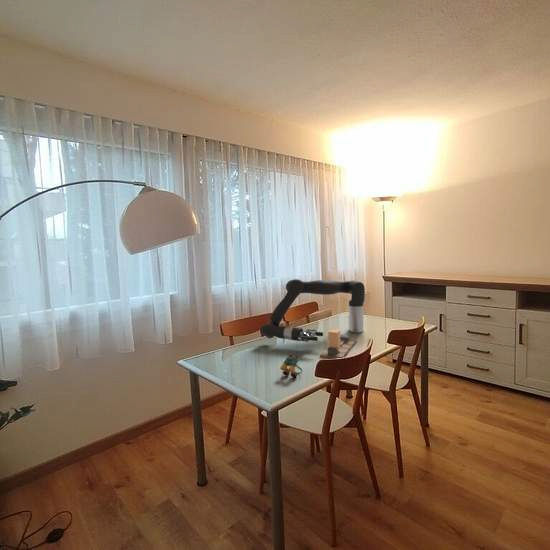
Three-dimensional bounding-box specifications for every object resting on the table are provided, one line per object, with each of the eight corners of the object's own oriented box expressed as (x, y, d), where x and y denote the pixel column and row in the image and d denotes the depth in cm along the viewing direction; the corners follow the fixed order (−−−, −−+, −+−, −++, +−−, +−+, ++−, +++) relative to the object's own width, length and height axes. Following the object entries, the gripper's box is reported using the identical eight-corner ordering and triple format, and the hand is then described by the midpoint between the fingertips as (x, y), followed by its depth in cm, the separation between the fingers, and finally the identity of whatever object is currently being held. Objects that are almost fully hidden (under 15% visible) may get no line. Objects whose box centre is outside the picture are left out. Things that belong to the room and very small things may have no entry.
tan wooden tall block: (331, 346, 178) (331, 329, 177) (340, 348, 176) (340, 330, 175) (328, 349, 174) (328, 331, 173) (337, 351, 171) (337, 332, 170)
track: (336, 340, 198) (336, 333, 197) (356, 342, 192) (356, 335, 192) (319, 357, 172) (319, 348, 171) (342, 360, 166) (341, 351, 166)
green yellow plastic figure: (283, 378, 153) (276, 365, 147) (291, 362, 159) (284, 349, 153) (300, 382, 148) (293, 369, 142) (308, 366, 153) (302, 352, 148)
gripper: (287, 330, 179) (315, 333, 171) (298, 324, 191) (324, 326, 184) (288, 343, 180) (315, 347, 172) (298, 336, 192) (324, 339, 184)
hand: (320, 336), depth 178 cm, fingers open, 8 cm apart
